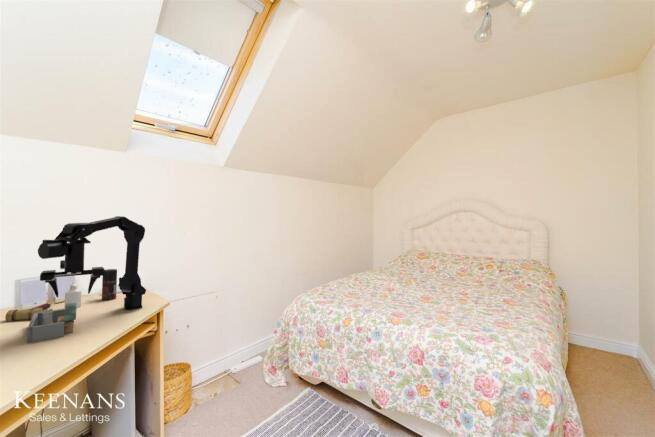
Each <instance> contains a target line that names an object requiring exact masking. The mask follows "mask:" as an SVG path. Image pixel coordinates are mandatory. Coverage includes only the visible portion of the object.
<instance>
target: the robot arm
mask: <svg viewBox="0 0 655 437" xmlns="http://www.w3.org/2000/svg"><path fill="white" fill-rule="evenodd" d="M115 227H117V228H118V229H119V230H120V231H122V232H123V237H124V240H125V242H126V252H125V254H126V255H125V267H124V268H125V269H124V270H125V272H124V274H123V276H122V277H119V278H118V285H117V286H118V287H119V290H120V291H121V293H122V295H125V297H124V298H123V307H124V308H125V310H127V311H128V310H134V309H141V308H143V295H145V294H146V292H147V289H146V288H145V287H144V286H143V285H142V281H141V277H140V275H139V273H138V271H139V258H140V244H141V242H142V241H143V240H144V238H145V234H146V233H145V232H146V227H145V226H143V225H142V224H139V223H137V222H135V221H133V220H131V219H129V218H127V217H126V216H121V215H120V216H117V215H116V216H114V217H110V218H104V219H100V220H99V219H98V220H95V221H91V222H75V223H74V222H73V223H71V222H70V223H66V224H64V226H63V228H62V230H61V231H60V232H59V233H58V235H57V236H56V237H55V238H54V239H43V240H42V243H41V244H39V247H38V248H37V254H38V257H39V258H40V259H42V260H45V259H54V258H55V259H56V258H62V257H64V260H60V263H59V264H60V265H59V267H60V268H59V269H60V270H64V271H56V269H54V270H53V269H51V270H42V272H41V273H40V275H39V280H40V281H42V282H43V281H44V283H46V284H47V283H48V284H49V286H50V287H51V289H52V290H53V292H54V295H55V296H56V298H59V288H58V280H57V278H58V277H59V278H61V277H73V276H74V277H75V276H85V275H86V276H87V275H90V278H89V283H88V288H87V294H90V293H91V292H92V288H93V287H94V284H95V283H96V282H97V279H100V278H101V276H102V277H103V275H105V270H106V269H105V268H104V267H103V266H94V267H91V269H85V244H91V243H92V242H91V241H90V240H89V239H87V238H86V237H89V236H91V235H92V234H94V233H96V232H100V231H104V230H107V229H112V228H115ZM40 281H39V282H40Z"/></svg>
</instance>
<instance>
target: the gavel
mask: <svg viewBox="0 0 655 437" xmlns="http://www.w3.org/2000/svg"><path fill="white" fill-rule="evenodd" d="M51 306H52V303H48V302H46V303H43V304H40V305H38V306H35V307H33V308H30V309H9V310H8V311H7V312H6V314H5V317H4V318H5V321H6V322H15V321H27V320H29V321H31V319H32V317H33V314H34V313H36V312H43V310H46V309H47V310H49V309H50V308H51Z"/></svg>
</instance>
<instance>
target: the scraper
mask: <svg viewBox="0 0 655 437" xmlns="http://www.w3.org/2000/svg"><path fill="white" fill-rule="evenodd" d="M76 304H77V303H69V304H66V305H65V304H64V309H65V316H61V317H58V320H57V323H59V322H64V335H67V334H72V333H73V332H74V325H75V320H76V319H77V308H76Z"/></svg>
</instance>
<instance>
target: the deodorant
mask: <svg viewBox="0 0 655 437" xmlns="http://www.w3.org/2000/svg"><path fill="white" fill-rule="evenodd" d="M101 281H102V282H101V283H102V284H101V286H102V287H101V301H103V302H105V301H107V302H108V301H113V300H116V299H117V286H118V285H117V284H118V283H117V282H118V269H116V268H107V269H105V275H103V276H102V280H101Z"/></svg>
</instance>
